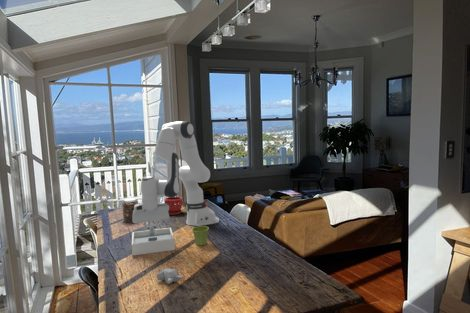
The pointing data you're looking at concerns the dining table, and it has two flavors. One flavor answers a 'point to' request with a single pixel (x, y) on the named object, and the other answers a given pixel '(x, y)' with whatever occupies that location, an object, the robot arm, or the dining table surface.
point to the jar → (128, 209)
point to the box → (152, 241)
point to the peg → (151, 228)
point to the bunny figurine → (169, 275)
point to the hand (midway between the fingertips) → (151, 228)
